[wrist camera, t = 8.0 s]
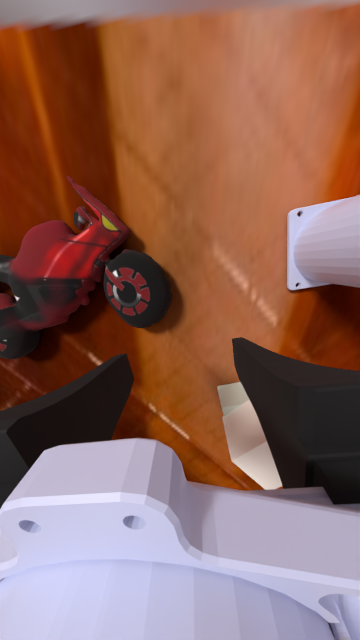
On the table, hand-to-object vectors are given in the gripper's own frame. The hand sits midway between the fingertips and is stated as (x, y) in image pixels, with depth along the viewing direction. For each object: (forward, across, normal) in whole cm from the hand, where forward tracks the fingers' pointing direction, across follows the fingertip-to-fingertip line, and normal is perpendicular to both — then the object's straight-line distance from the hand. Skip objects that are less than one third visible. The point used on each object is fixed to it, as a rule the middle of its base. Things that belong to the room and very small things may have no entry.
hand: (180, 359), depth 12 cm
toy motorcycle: (+11, +14, -7) cm, 19 cm away
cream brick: (+7, -6, +14) cm, 17 cm away
